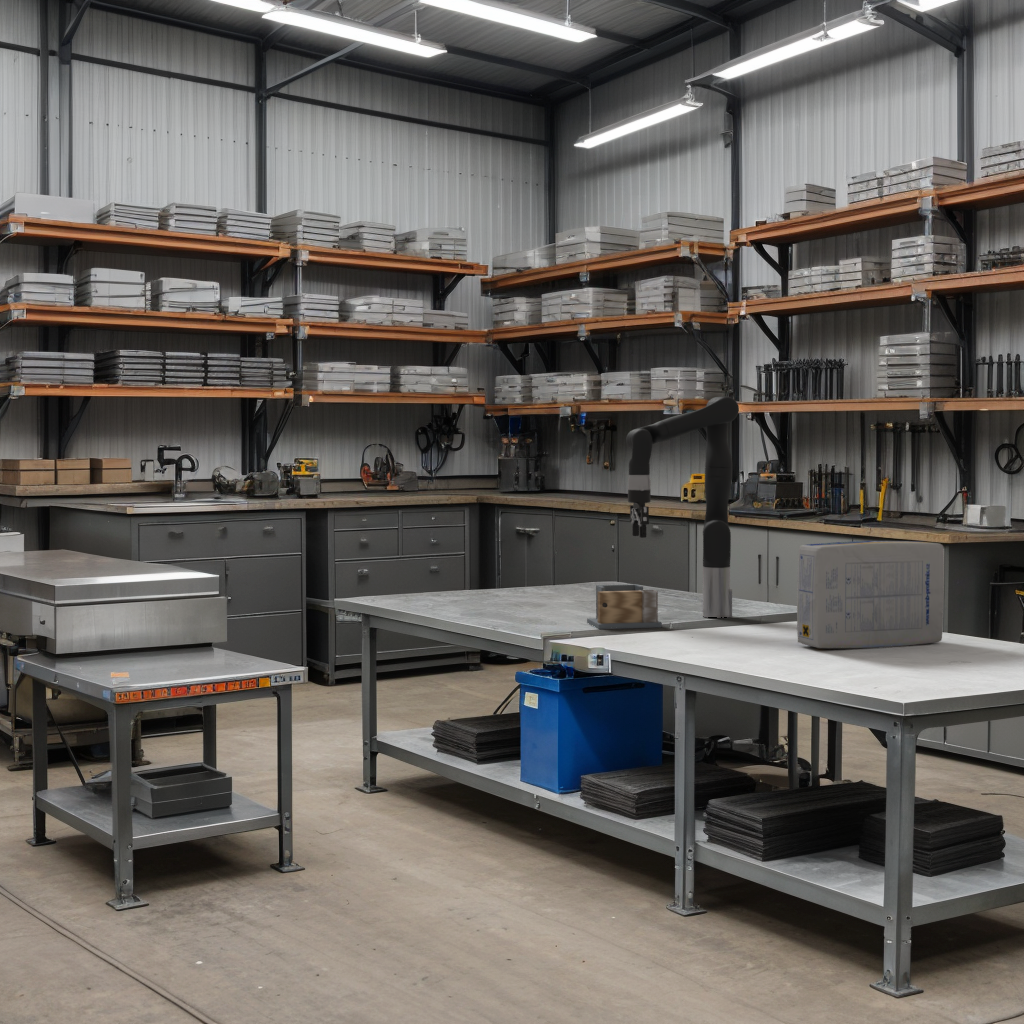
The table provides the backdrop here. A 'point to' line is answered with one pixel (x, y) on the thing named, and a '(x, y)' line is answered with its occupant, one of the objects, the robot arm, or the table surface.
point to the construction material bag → (870, 594)
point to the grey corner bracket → (619, 625)
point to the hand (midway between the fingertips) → (639, 536)
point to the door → (627, 606)
